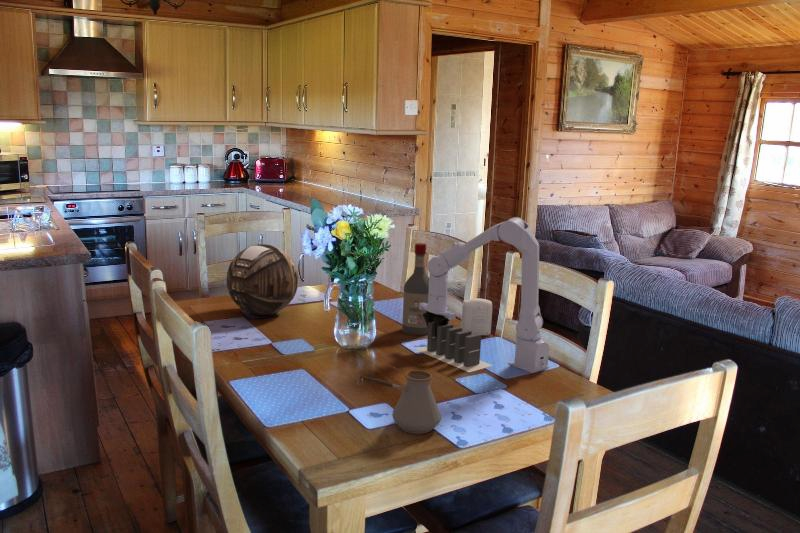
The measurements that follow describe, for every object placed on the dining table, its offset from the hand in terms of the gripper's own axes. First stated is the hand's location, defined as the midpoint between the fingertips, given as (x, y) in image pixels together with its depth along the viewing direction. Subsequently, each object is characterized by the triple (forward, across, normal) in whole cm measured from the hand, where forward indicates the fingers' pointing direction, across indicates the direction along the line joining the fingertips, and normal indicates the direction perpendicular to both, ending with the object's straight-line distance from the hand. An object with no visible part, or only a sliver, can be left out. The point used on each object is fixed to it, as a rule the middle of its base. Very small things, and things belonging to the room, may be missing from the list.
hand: (435, 336), depth 216 cm
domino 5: (+4, -16, 0) cm, 17 cm away
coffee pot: (+5, -37, +45) cm, 58 cm away
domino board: (+4, -8, 0) cm, 9 cm away
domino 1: (+4, 0, 0) cm, 4 cm away
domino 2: (+4, -4, 0) cm, 6 cm away
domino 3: (+4, -8, 0) cm, 9 cm away
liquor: (+5, +18, -8) cm, 20 cm away
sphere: (+5, +64, +25) cm, 69 cm away
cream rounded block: (+5, +5, -23) cm, 24 cm away
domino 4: (+4, -12, 0) cm, 13 cm away
